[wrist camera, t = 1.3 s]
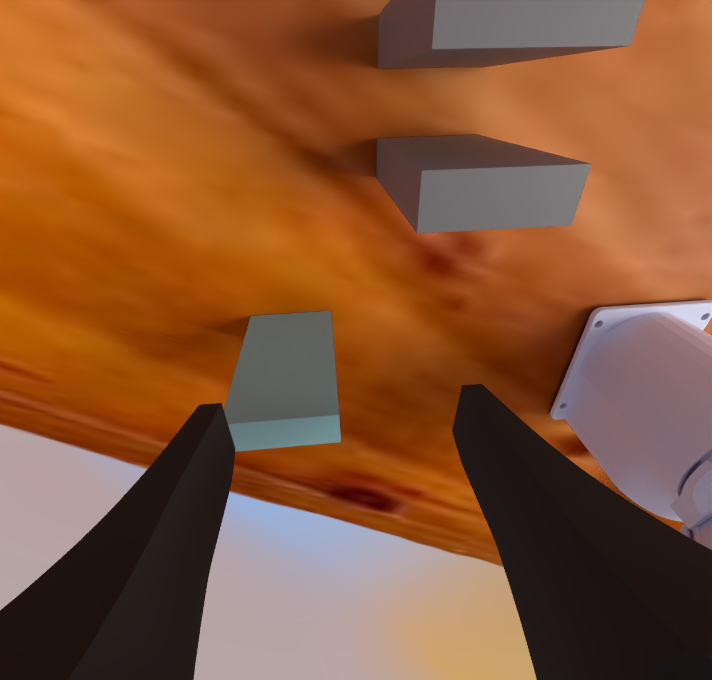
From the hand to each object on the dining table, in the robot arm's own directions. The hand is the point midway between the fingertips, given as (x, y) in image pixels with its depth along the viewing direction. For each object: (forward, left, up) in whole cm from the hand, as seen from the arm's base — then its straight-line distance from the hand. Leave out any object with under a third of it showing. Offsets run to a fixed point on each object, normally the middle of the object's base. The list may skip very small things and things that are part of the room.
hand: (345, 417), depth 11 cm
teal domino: (-3, +2, -10) cm, 11 cm away
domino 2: (+6, -5, -10) cm, 12 cm away
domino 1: (+10, -5, -10) cm, 15 cm away
